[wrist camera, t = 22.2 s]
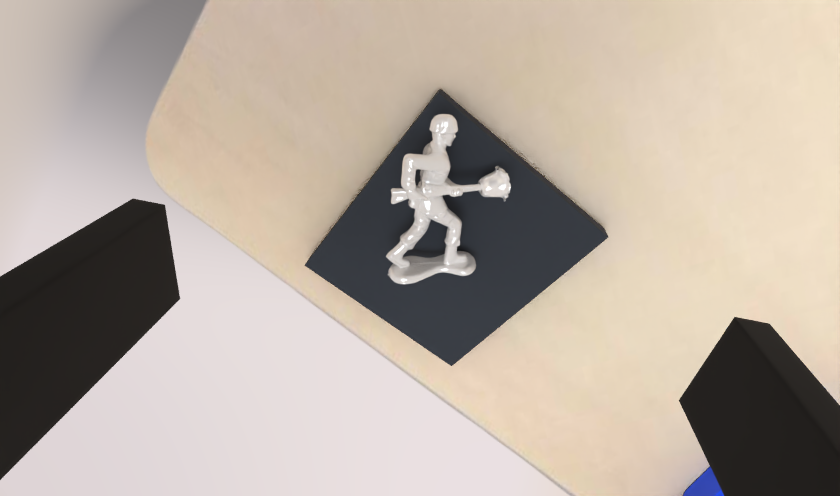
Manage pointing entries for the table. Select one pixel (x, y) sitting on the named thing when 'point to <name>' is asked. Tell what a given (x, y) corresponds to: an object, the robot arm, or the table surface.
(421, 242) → the display mat
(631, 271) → the table surface
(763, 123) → the table surface
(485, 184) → the figurine
